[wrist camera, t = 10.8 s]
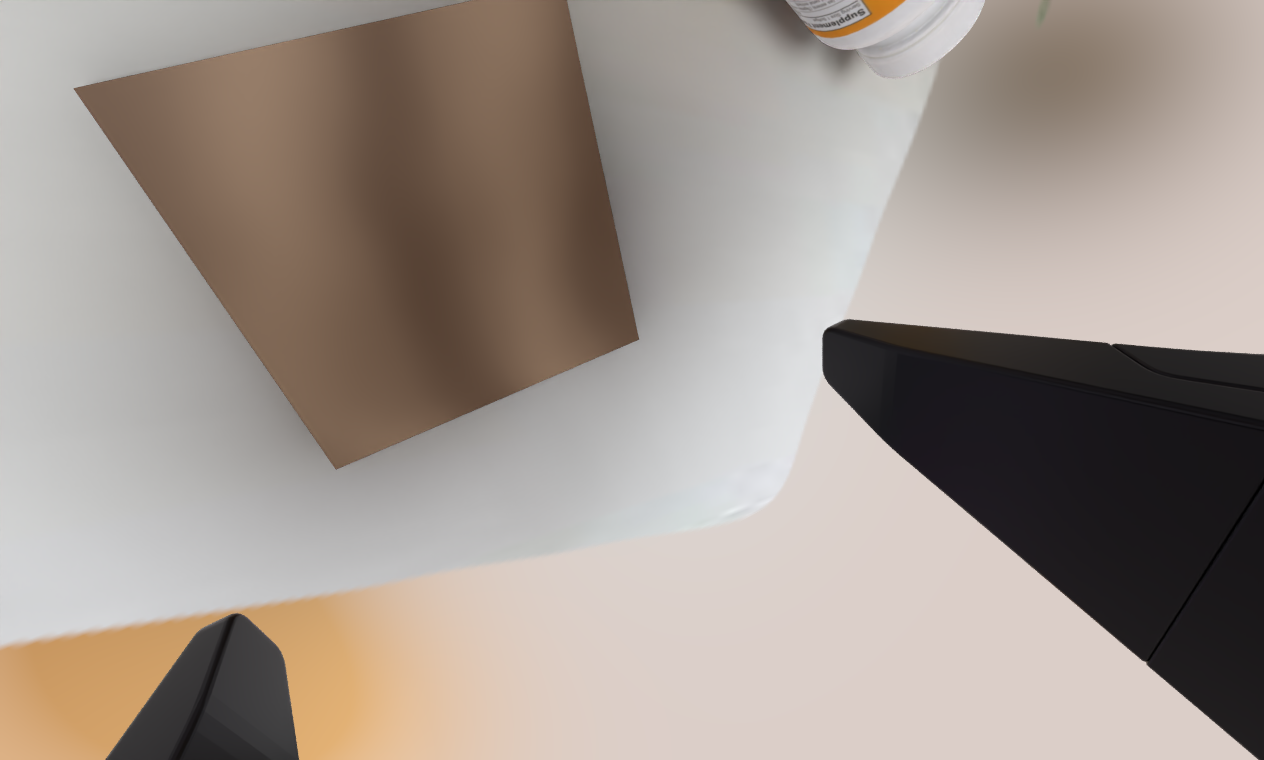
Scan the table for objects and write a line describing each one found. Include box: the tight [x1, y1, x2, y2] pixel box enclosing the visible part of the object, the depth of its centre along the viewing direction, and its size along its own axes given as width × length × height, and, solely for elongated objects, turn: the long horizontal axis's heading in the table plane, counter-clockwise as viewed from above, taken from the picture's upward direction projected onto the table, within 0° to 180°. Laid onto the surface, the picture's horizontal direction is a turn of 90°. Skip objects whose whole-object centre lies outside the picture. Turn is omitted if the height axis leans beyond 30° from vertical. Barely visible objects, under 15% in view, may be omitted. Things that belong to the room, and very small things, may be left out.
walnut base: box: [74, 0, 639, 469], centre depth 18 cm, size 12×12×2 cm
